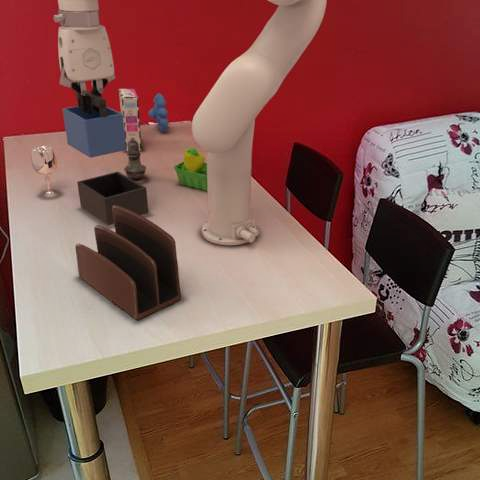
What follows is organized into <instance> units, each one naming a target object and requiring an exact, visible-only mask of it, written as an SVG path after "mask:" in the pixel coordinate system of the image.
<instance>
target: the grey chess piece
mask: <svg viewBox="0 0 480 480" xmlns="http://www.w3.org/2000/svg"><path fill="white" fill-rule="evenodd" d="M127 145H128V152H127V154H126V156H127V158H128V164H127V165H126V166H124V167H123V170H124V171H125V173H126V176H127V177H128V178H130V179H132V180H134V181H139V180H141V178H143V176H145V174H146V170H147V166H145V164H142V162H141V156H142V153H141V152H140V151H139V145H138V142H137V141H134V140H133V137H132V140H131V141H129V142H128V144H127Z"/></svg>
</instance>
